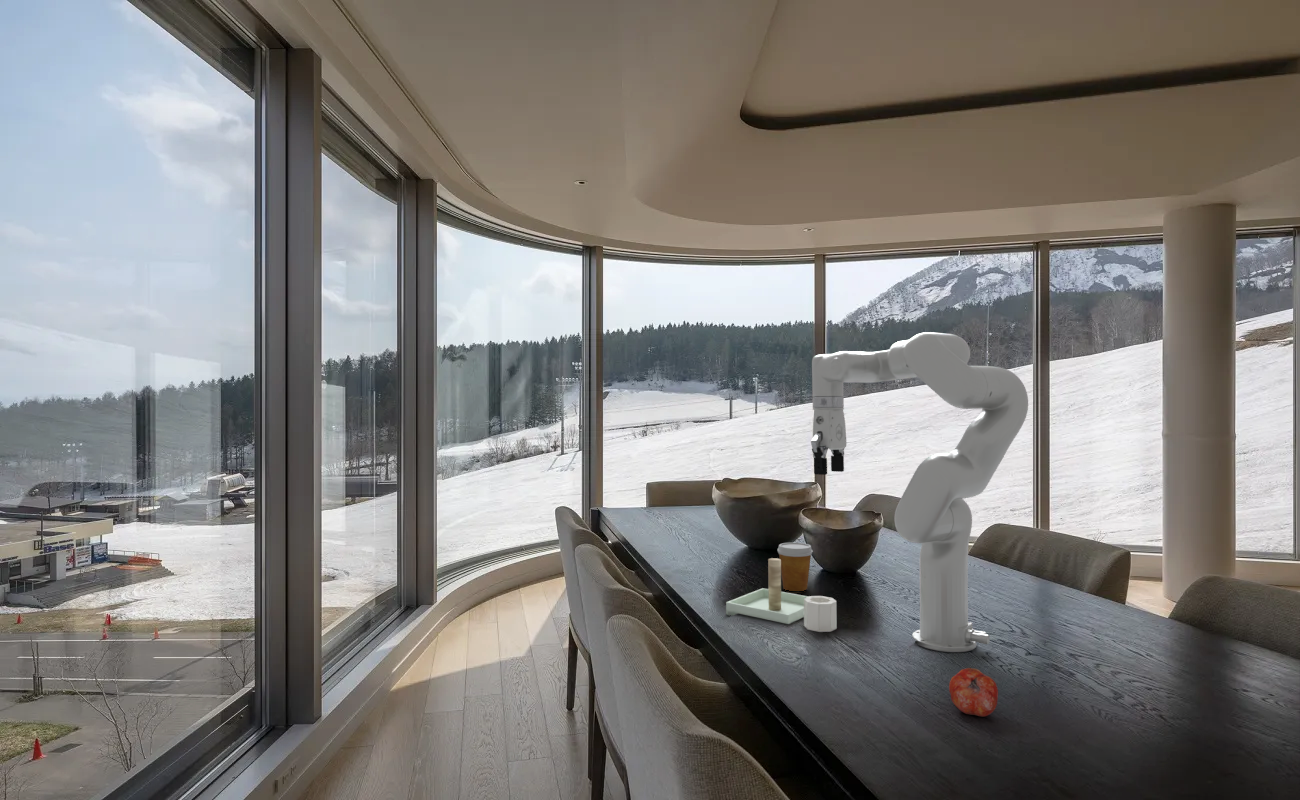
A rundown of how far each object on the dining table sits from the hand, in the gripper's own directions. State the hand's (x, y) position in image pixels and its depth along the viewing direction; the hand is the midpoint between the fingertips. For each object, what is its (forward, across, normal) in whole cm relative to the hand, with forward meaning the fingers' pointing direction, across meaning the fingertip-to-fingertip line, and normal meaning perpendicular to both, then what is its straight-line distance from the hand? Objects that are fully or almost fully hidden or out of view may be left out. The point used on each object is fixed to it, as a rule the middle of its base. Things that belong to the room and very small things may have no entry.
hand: (829, 472), depth 181 cm
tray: (+34, -12, +9) cm, 37 cm away
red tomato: (+35, -42, -44) cm, 70 cm away
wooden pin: (+32, -12, +9) cm, 36 cm away
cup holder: (+34, -18, -6) cm, 39 cm away
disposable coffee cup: (+34, +11, +16) cm, 39 cm away
